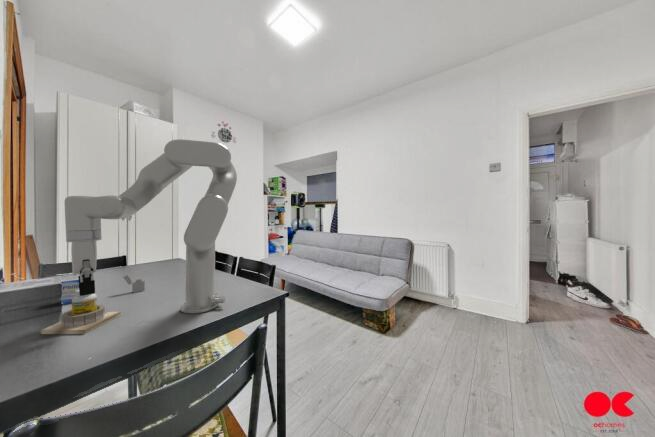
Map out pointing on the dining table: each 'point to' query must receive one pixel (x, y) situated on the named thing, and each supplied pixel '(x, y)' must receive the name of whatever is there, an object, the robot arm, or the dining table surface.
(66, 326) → the collar block
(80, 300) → the supplement bottle
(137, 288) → the lighter
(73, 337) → the dining table surface
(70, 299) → the medicine box
